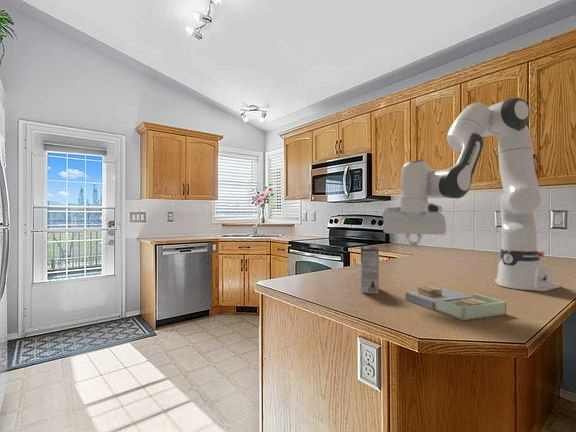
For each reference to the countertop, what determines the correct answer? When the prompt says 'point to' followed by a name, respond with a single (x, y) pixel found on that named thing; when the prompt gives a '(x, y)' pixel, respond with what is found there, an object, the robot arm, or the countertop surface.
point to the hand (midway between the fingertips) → (413, 247)
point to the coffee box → (369, 270)
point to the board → (429, 301)
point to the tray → (471, 308)
